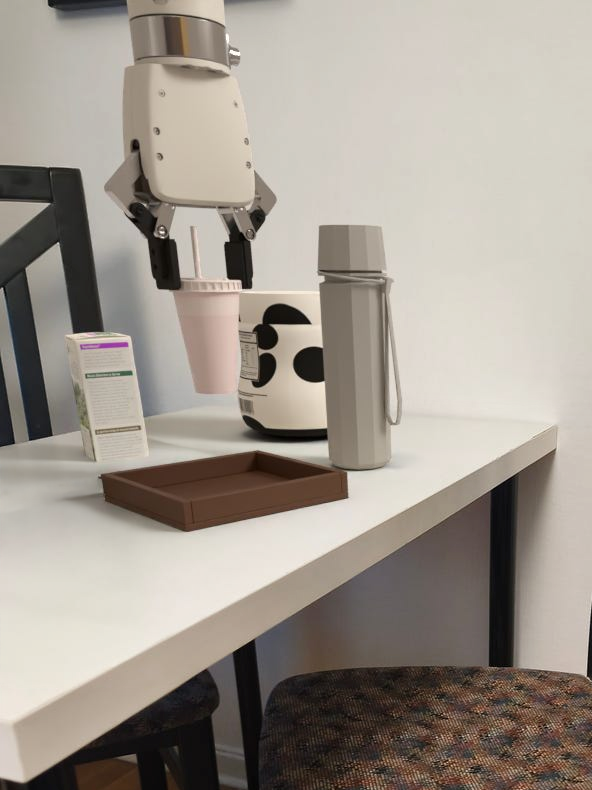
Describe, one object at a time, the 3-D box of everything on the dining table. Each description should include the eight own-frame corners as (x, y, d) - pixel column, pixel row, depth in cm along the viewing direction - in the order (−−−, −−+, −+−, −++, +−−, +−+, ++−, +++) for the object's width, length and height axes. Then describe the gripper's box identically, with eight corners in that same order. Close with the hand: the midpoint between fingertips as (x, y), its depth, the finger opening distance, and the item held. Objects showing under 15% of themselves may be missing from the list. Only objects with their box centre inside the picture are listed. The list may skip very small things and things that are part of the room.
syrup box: (153, 474, 97) (134, 334, 92) (97, 480, 94) (73, 336, 89) (139, 465, 102) (120, 330, 96) (84, 470, 98) (61, 332, 93)
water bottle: (314, 468, 101) (298, 224, 91) (352, 456, 107) (341, 228, 98) (384, 476, 97) (375, 223, 88) (419, 463, 104) (414, 227, 94)
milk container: (386, 425, 128) (381, 291, 121) (342, 447, 113) (334, 294, 106) (275, 420, 132) (264, 290, 125) (217, 440, 116) (202, 293, 109)
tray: (185, 531, 76) (182, 502, 75) (104, 500, 86) (100, 473, 85) (348, 497, 88) (347, 471, 87) (260, 473, 98) (258, 449, 97)
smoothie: (193, 386, 86) (176, 227, 81) (259, 387, 86) (246, 228, 81) (170, 395, 80) (149, 224, 75) (240, 396, 80) (225, 225, 75)
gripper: (247, 75, 81) (264, 287, 88) (55, 42, 69) (92, 289, 76) (296, 64, 76) (310, 289, 83) (97, 26, 65) (133, 291, 71)
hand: (205, 287), depth 80 cm, fingers closed on smoothie, 6 cm apart
